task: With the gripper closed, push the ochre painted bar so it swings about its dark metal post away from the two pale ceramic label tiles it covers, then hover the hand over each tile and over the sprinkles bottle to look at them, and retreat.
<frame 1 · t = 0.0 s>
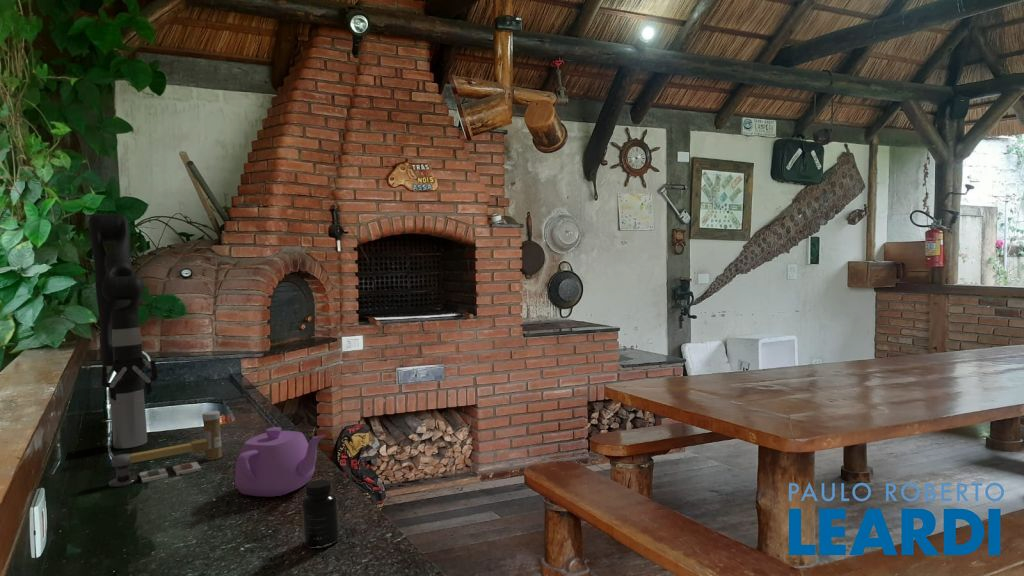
hand: (131, 397, 193), 17 cm above the worktop, tool pointing down, fingers open, 8 cm apart
swing bar: (160, 452, 174), point 6 cm above the worktop, hinge at 0.0°
post: (123, 482, 169), on the worktop
teapot: (279, 489, 161), on the worktop
label tile b: (186, 469, 177), on the worktop
label tile a: (153, 476, 173), on the worktop
supplement bottle: (322, 543, 129), on the worktop
sprinkles bottle: (214, 458, 187), on the worktop
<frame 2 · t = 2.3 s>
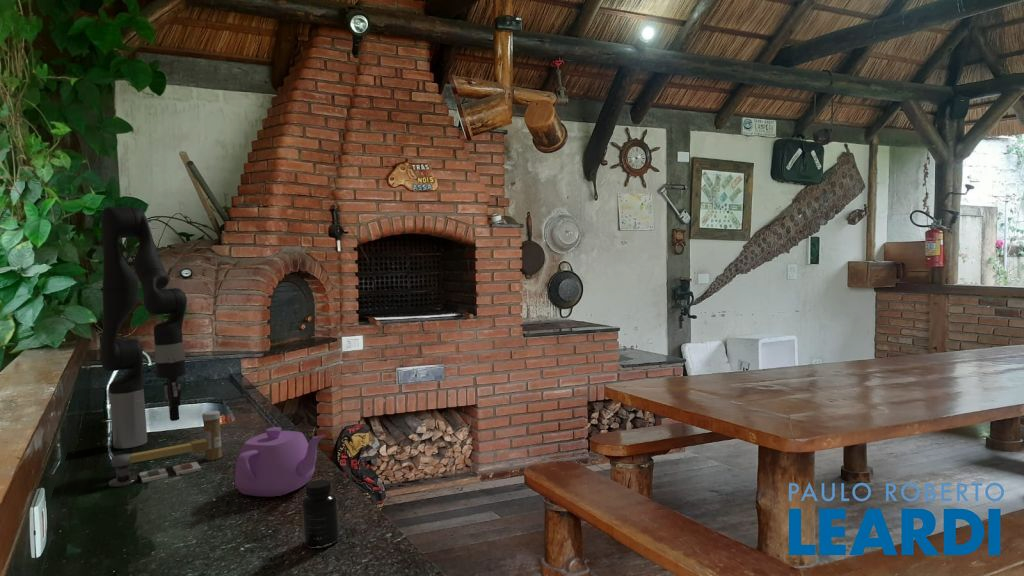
hand: (174, 420, 183), 12 cm above the worktop, tool pointing down, fingers closed
nothing on the worktop moved.
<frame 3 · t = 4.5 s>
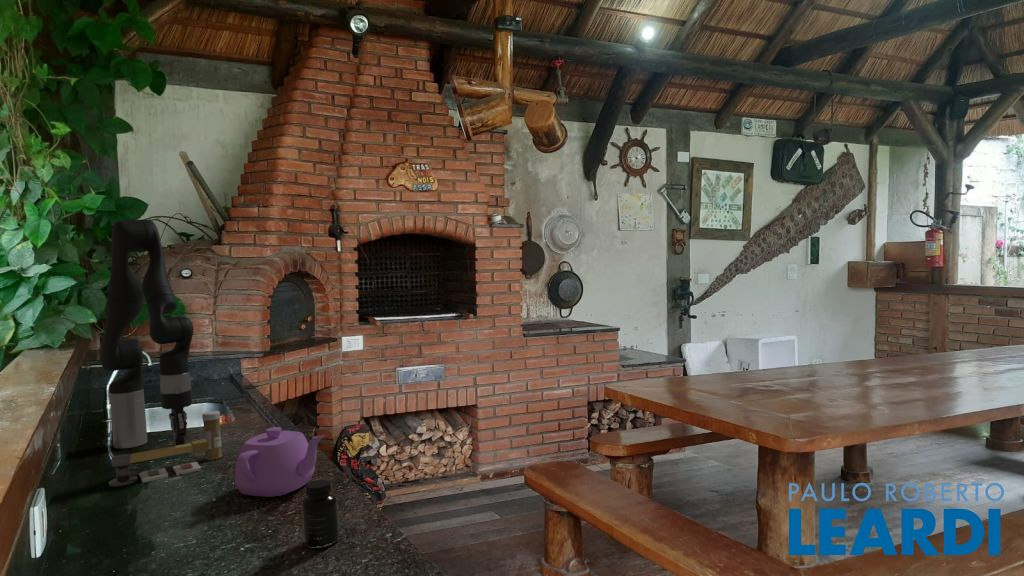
hand: (180, 451, 179), 5 cm above the worktop, tool pointing down, fingers closed
swing bar: (160, 453, 174), point 6 cm above the worktop, hinge at 0.9°, touching gripper
everything else where it was.
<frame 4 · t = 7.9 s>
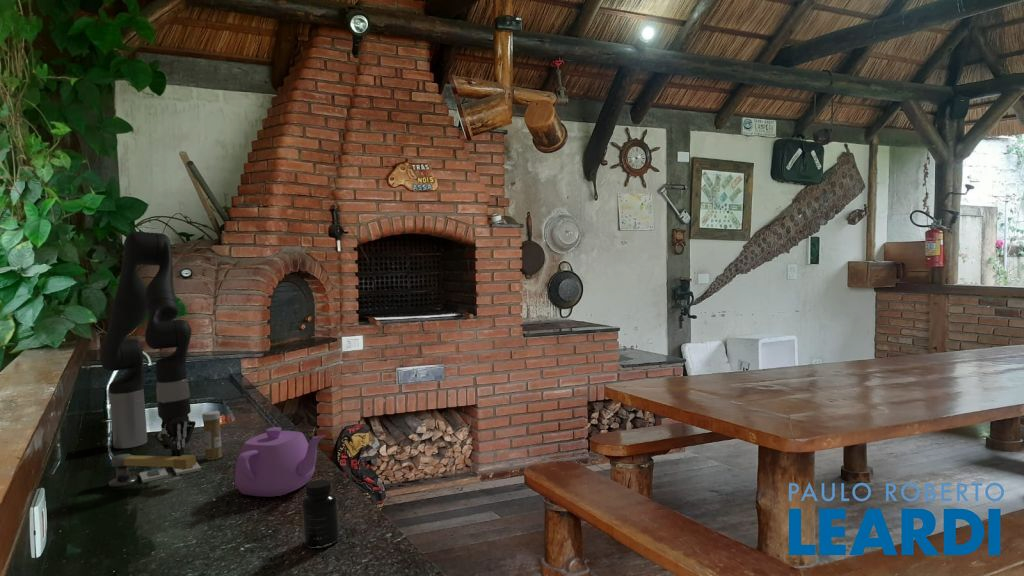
hand: (178, 462, 169), 5 cm above the worktop, tool pointing down, fingers closed
swing bar: (152, 461, 167), point 6 cm above the worktop, hinge at 45.9°, touching gripper
everything else where it was.
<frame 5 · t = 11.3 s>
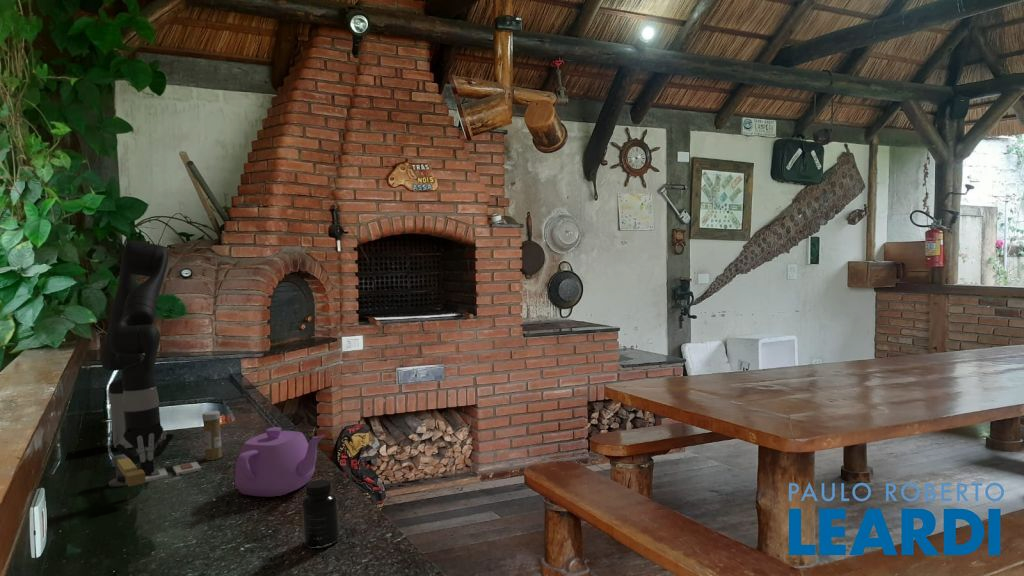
hand: (147, 475, 160), 5 cm above the worktop, tool pointing down, fingers closed
swing bar: (128, 468, 161), point 6 cm above the worktop, hinge at 85.5°, touching gripper
everything else where it was.
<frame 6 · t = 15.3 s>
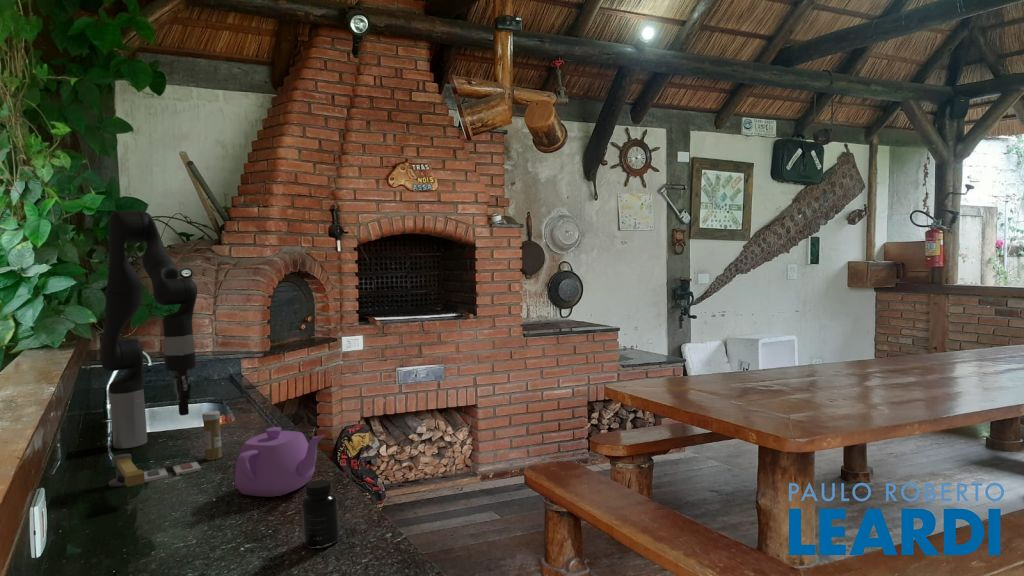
hand: (184, 414, 177), 15 cm above the worktop, tool pointing down, fingers closed
swing bar: (127, 468, 161), point 6 cm above the worktop, hinge at 86.0°
everything else where it was.
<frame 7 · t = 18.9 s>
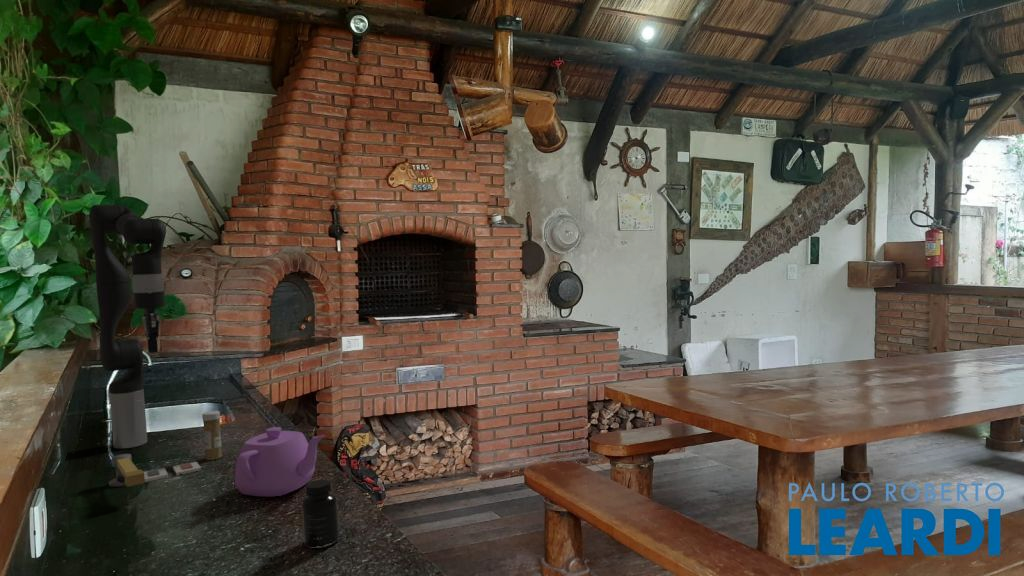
hand: (153, 352, 181), 32 cm above the worktop, tool pointing down, fingers closed
nothing on the worktop moved.
at the end: swing bar at +86° (first picture: +0°); sprinkles bottle moved 0.2 cm from its start; sprinkles bottle tilted 0° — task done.
